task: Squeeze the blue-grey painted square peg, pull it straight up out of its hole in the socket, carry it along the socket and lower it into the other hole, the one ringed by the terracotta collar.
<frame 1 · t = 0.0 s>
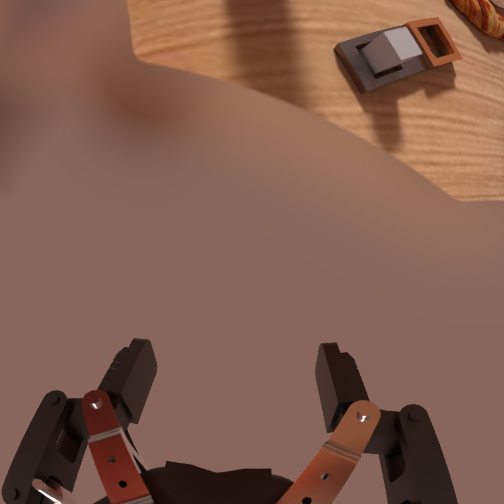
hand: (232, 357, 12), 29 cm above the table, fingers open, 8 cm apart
croissant: (476, 17, 22), on the table
peg: (373, 61, 30), resting in socket
socket: (400, 52, 29), on the table
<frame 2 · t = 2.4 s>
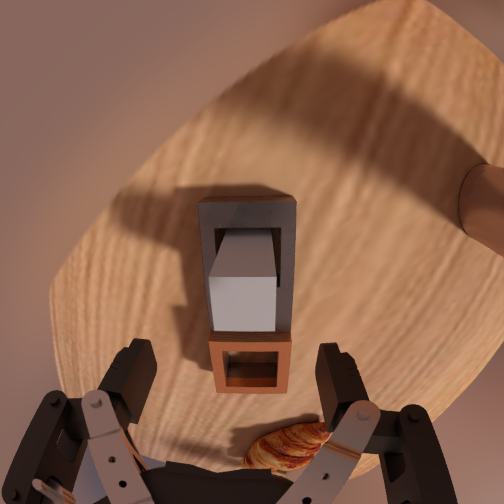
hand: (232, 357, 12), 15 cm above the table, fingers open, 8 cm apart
croissant: (280, 438, 39), on the table
peg: (249, 248, 26), resting in socket
flower in vase: (313, 464, 44), on the table
socket: (250, 303, 28), on the table
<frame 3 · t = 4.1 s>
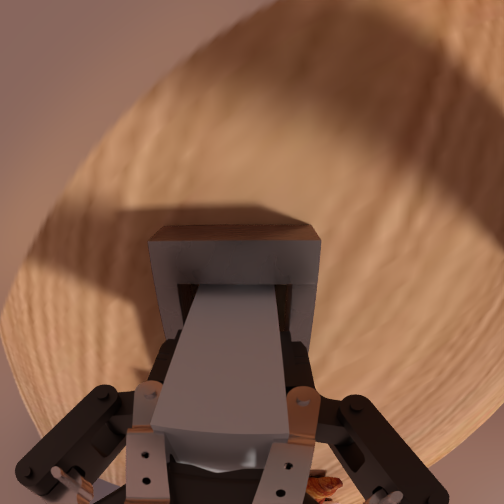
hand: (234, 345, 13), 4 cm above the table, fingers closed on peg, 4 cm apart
croissant: (279, 487, 30), on the table
peg: (238, 304, 16), resting in socket, touching gripper
flower in vase: (313, 502, 34), on the table
socket: (241, 373, 19), on the table
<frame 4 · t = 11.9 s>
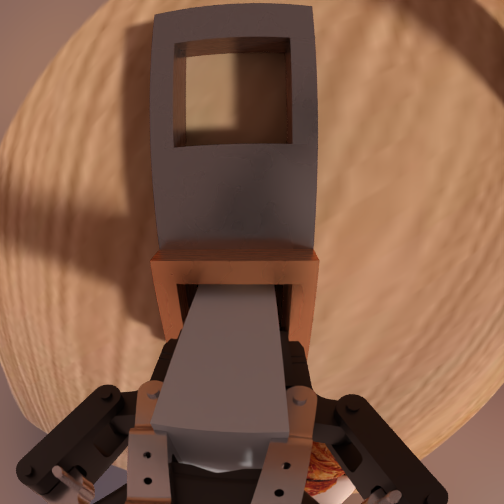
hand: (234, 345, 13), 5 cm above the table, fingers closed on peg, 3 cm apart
croissant: (293, 453, 27), on the table
peg: (238, 304, 16), point 1 cm above the table, touching gripper
flower in vase: (324, 479, 31), on the table
socket: (236, 200, 16), on the table
when the fingers open (5 cm above the table, at t = 12.0 s): peg drops 1 cm, resting in socket.
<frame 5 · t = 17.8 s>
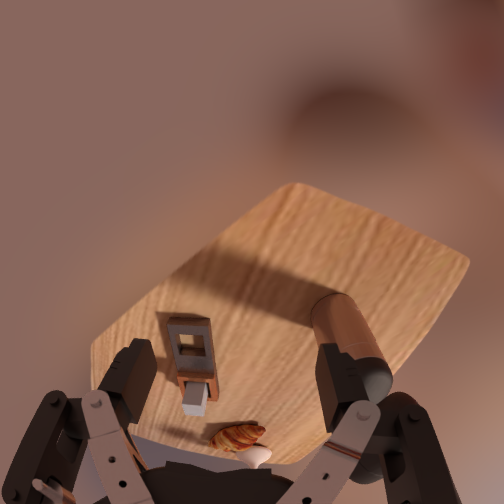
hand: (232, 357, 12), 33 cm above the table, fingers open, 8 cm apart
croissant: (234, 431, 67), on the table
peg: (200, 376, 57), resting in socket
flower in vase: (254, 448, 71), on the table
socket: (196, 358, 55), on the table
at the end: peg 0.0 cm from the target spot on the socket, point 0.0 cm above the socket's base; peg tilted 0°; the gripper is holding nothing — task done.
